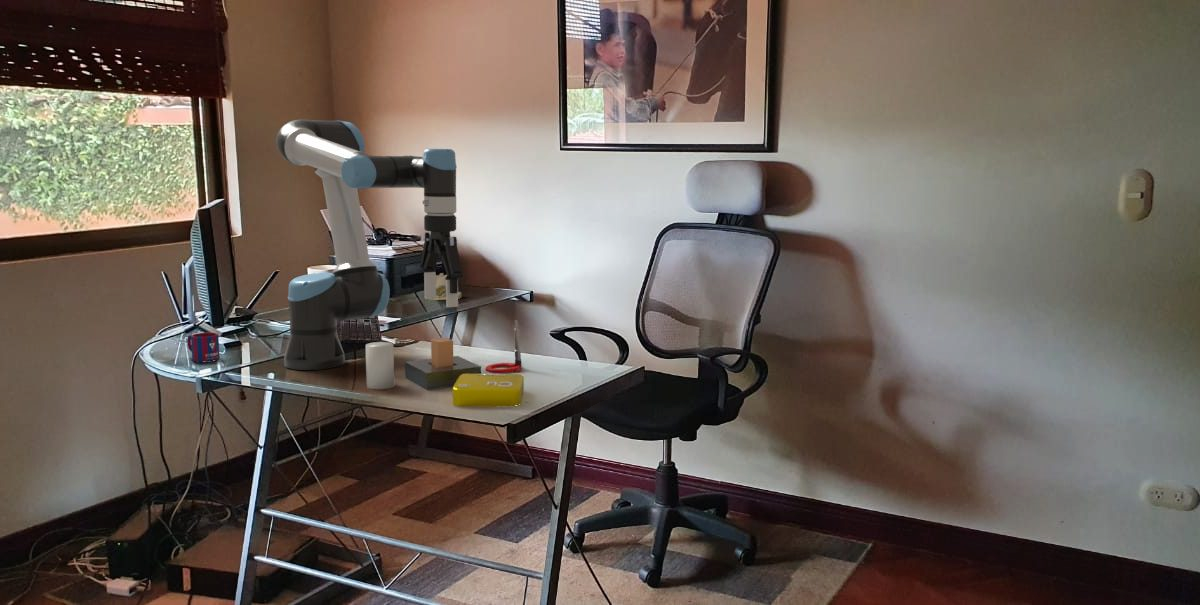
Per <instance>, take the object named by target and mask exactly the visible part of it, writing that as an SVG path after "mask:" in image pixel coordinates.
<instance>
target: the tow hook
mask: <svg viewBox="0 0 1200 605" xmlns="http://www.w3.org/2000/svg"><path fill="white" fill-rule="evenodd" d="M513 332H514V335H513V336H514V363H513V362H500V363H499V362H498V363H493V364H488V365H486V366H485V369H484V370H485V371H486V372H488V373H490V374H507V373H510V372H516V373H521V371H522V358H521V348H520V347H521V345H520V328H519V323H518V320H516V319H515V320H514V328H513Z"/></svg>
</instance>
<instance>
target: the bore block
mask: <svg viewBox="0 0 1200 605" xmlns="http://www.w3.org/2000/svg"><path fill="white" fill-rule="evenodd" d="M404 373H405V374H404V375H405V376H404V377H405V379H407V380H408V381H410V382H412V383H414V384H416V385H418V386H419V387H421V388H423V389H425V390H435V389H444V388H453V386H454V384H455V383H456V381H457V379H458V377H459V376H460V375H462V374H482V366H480V365H479V364H476V363H475V362H473V361H471V360H468V359H465V358H463V357H461V356H458V355H453V366H446V367H437V368H436V367H434V366H432V363H431V358H429V359H428V358H426V359H419V360H409V361H404Z"/></svg>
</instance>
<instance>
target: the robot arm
mask: <svg viewBox="0 0 1200 605" xmlns="http://www.w3.org/2000/svg"><path fill="white" fill-rule="evenodd" d="M275 146H276V149H277V152H278V154H279V155H280V157H281V158H282V159H283V160H285V161H286V162H288V163H291V164H293V165H296V166H301V167H303V166H304V167H305V166H309V167H313V169H314V173H315V174H316V175H317V176H318V177H320V178H321V181H322V184H323V185H322V186H323V191H324V197H325V204H326V208H327V214H328V221H329V227H330V231H331V238H332V242H333V243H332V244H333V249H334V254H335V262H336V266H335V268H334V270H332V272H318V273H317V272H316V273H315V272H314V273H308V274H304V275H303V274H302V275H300V276H297V277H295V278H293V279H291V281H290V282H289V284H288V294H287V299H288V313H289V315H288V316H289V333H290V334H289V339H288V343H287V347H286V350H285V353H284V358H283V362H284V367H285V368H286V369H287V368H288V369H291V370H297V371H298V370H300V371H302V370H303V371H311V370H313V371H314V370H315V371H316V370H327V369H332V367H333V368H336V366H337V367H339V365H340V366H342V365H344V364H345V362H346V359H345V358H346V356H345V352H344V350H343V346H342V343H341V341H340V339H339V336H338V331H337V330H338V329H337V325H338V322H342V321H343V322H344V321H345V322H346V321H352V320H358V319H369V318H370V317H371V318H372V317H376V316H379V315H381V314H382V313H383V312H384V311H385V310H386V308H387V305H388V304H389V300H390V291H391V290H390V285H389V284H390V283H389V281H388V279H387V278H386V276H385V275H384V274H382V273H380V272H378V268H377V265H376V264H375V263H374V262H372V261H371V260H370V254H369V251H368V250H369V249H368V243H367V238H366V232H365V227H364V220H363V215H362V210H361V204H360V203H361V202H360V198H359V193H358V189H360V190H364V189H365V190H366V189H396V188H397V189H400V188H402V189H404V188H405V189H406V188H407V189H408V188H412V189H413V188H414V189H415V188H417V189H418V188H421V189H423V198H424V199H423V200H422V205H423V206H424V207H423V209H424V210H423V211H424V213H426V214H425V215H424V217H423V226H424V227H423V229H424V230H425V231H426V232H424V243H423V247H422V248H423V249H422V252H421V253H422V254H421V258H420V263H419V264H420V265H419V267H420V269H422V271H423V272H424V273H423V277H424V278H423V281H424V289H423V290H424V292H423V293H424V296H423V299H424V300H427V299H431V298H436V275H437V274H436V272H437V268H436V266H437V262H438V259H439V257H441V260H442V263H443V267H444V270H445V273H446V274H445V275H447V276H446V279H445V280H446V301H445V302H446V304H445V306H446V308H454V307H455V308H456V307H459V300H458V291H459V279H460V278H463V275H464V274H463V271H462V270H463V269H462V264H461V259H460V254H459V249H458V239H457V237H456V236H451V232H455V231H456V230H457V216H456V215H455V214H456V213H457V169H458V168H457V162H456V160H457V159H456V152H455V150H454V149H451V148H425V149H424V151H423V156H416V155H415V156H414V155H385V156H384V155H372V154H368V153H365V151H366V150H365V149H366V148H365V147H366V146H365V140H364V138H363V134H362V133H361V130H359V128H358V127H357V126H355V125H354V123H352V122H349V121H344V120H343V121H342V120H337V119H336V120H335V119H334V120H322V119H321V120H319V119H295V120H291V121H289V122H287V123H286V124H284V125H283V126H282V127H280V129H279V131H278V132H277V134H276V137H275Z"/></svg>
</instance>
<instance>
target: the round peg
mask: <svg viewBox="0 0 1200 605" xmlns="http://www.w3.org/2000/svg"><path fill="white" fill-rule="evenodd" d="M394 355H395V354H394V343H392V342H387V341H376V342H369V343H366V344H365V371H366V372H365V373H366V374H365V375H366V376H365V377H366V388H367V389H371V390H386V389H387V390H388V389H391V388H393V387H395V361H394V360H395V356H394Z"/></svg>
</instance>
